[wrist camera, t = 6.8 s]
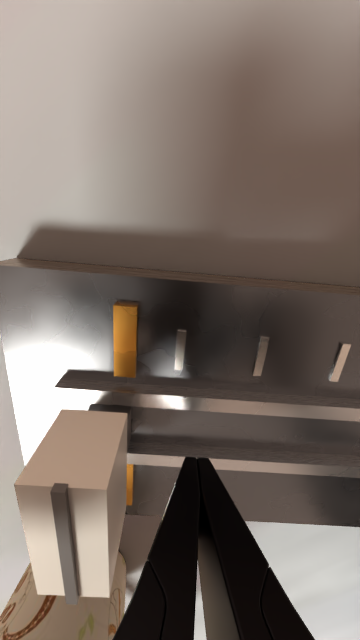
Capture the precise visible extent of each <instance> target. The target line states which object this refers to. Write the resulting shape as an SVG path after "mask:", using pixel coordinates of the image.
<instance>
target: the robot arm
mask: <svg viewBox="0 0 360 640" xmlns="http://www.w3.org/2000/svg"><path fill="white" fill-rule="evenodd" d="M197 560H198V565H199V574H200V583H201V592H202V601H203V610H204V619H205V628H206V637H207V640H315V639H314V637H313V636H312V634H311V633H310V631H309V630H308V628H307V627H306V625H305V624H304V622H303V621H302V619H301V618H300V616H299V614H298V613H297V611H296V610H295V608H294V607H293V605H292V603H291V602H290V600H289V598H288V597H287V595H286V593H285V591H284V590H283V588H282V586H281V585H280V583H279V581H278V579H277V578H276V576H275V574H274V572H273V571H272V569H271V568H270V567H269V564H268V562H267V560H266V558H265V557H264V555H263V553H262V551H261V550H260V548H259V546H258V544H257V542H256V541H255V539H254V537H253V535H252V534H251V532H250V530H249V528H248V527H247V525H246V523H245V521H244V519H243V518H242V516H241V514H240V512H239V511H238V509H237V507H236V505H235V503H234V502H233V500H232V498H231V496H230V495H229V493H228V491H227V489H226V488H225V486H224V484H223V482H222V480H221V479H220V477H219V475H218V473H217V472H216V470H215V468H214V466H213V465H212V463H211V461H210V459H209V458H203V457H198V458H196V457H185V459H184V461H183V464H182V467H181V469H180V472H179V475H178V477H177V480H176V483H175V485H174V488H173V491H172V493H171V496H170V499H169V501H168V504H167V507H166V510H165V512H164V515H163V518H162V520H161V523H160V526H159V528H158V531H157V534H156V536H155V539H154V542H153V544H152V547H151V550H150V552H149V555H148V558H147V561H146V563H145V565H144V568H143V571H142V574H141V576H140V579H139V581H138V584H137V586H136V589H135V591H134V594H133V596H132V599H131V601H130V603H129V605H128V607H127V610H126V612H125V614H124V616H123V618H122V620H121V623H120V625H119V627H118V629H117V631H116V633H115V635H114V637H113V639H112V640H194V621H195V601H196V580H197ZM268 567H269V568H268Z"/></svg>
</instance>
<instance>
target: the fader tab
mask: <svg viewBox="0 0 360 640" xmlns="http://www.w3.org/2000/svg"><path fill="white" fill-rule="evenodd" d="M131 410H132V406H120V405H105V404H91V405H90V407H89V409H88V411H86V410H71V409H61V411H60V412H59V414H58V416H57V417H56V419H55V420H54V422H53V423H52V425H51V427H50V428H49V430H48V431H47V433H46V435H45V436H44V438H43V439H42V441H41V443H40V444H39V446H38V447H37V449H36V450H35V452H34V454H33V455H32V457H31V458H30V460H29V462H28V463H27V465H26V466H25V468H24V470H23V471H22V473H21V474H20V476H19V478H18V479H17V481H16V482H15V484H14V486H15V491H16V496H17V500H18V505H19V510H20V515H21V519H22V524H23V529H24V533H25V538H26V543H27V547H28V552H29V557H30V561H31V566H32V571H33V576H34V580H35V585H36V590H37V594H38V595H61V596H65V599H66V604H72V605H77V604H78V600H79V596H84V597H107V598H110V592H111V587H112V582H113V576H114V571H115V566H116V560H117V555H118V549H119V544H120V539H121V533H122V528H123V523H124V517H125V512H126V483H127V452H128V447H129V443H130V438H131Z"/></svg>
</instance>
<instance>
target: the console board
mask: <svg viewBox="0 0 360 640" xmlns="http://www.w3.org/2000/svg"><path fill="white" fill-rule="evenodd" d="M0 334H1V340H2V345H3V350H4V356H5V361H6V367H7V372H8V378H9V383H10V388H11V394H12V399H13V405H14V410H15V415H16V421H17V426H18V432H19V437H20V443H21V448H22V453H23V459H24V464H25V466H26V465H27V463H28V462H29V460H30V458H31V457H32V455H33V454H34V452H35V450H36V449H37V447H38V446H39V444H40V443H41V441H42V439H43V438H44V436H45V435H46V433H47V431H48V430H49V428H50V427H51V425H52V423H53V422H54V420H55V419H56V417H57V416H58V414H59V412H60V411H61V409H71V410H86V411H88V409H89V407H90V405H91V404H105V405H120V406H132V410H131V438H130V443H129V447H128V452H127V483H126V512H125V514H129V515H147V516H163V515H164V512H165V510H166V507H167V504H168V501H169V499H170V496H171V493H172V491H173V488H174V485H175V483H176V480H177V477H178V475H179V472H180V469H181V467H182V464H183V461H184V459H185V457H196V458H198V457H203V458H209V459H210V461H211V463H212V465H213V466H214V468H215V470H216V472H217V473H218V475H219V477H220V479H221V480H222V482H223V484H224V486H225V488H226V489H227V491H228V493H229V495H230V496H231V498H232V500H233V502H234V503H235V505H236V507H237V509H238V511H239V512H240V514H241V516H242V518H243V519H244V521H258V522H277V523H295V524H314V525H332V526H351V527H360V287H351V286H339V285H327V284H315V283H304V282H292V281H280V280H268V279H256V278H245V277H233V276H221V275H209V274H197V273H186V272H174V271H162V270H150V269H138V268H127V267H115V266H103V265H91V264H79V263H68V262H56V261H44V260H32V259H20V258H13V259H9V260H4V261H0Z"/></svg>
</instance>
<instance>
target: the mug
mask: <svg viewBox="0 0 360 640" xmlns="http://www.w3.org/2000/svg"><path fill="white" fill-rule="evenodd" d="M125 589H126V563H125V560H124V558H123V557H122V555H121V554H120V553H119V552H118V555H117V560H116V566H115V571H114V576H113V582H112V587H111V592H110V598H107V597H84V596H79V600H78V604H77V605H72V604H66V599H65V596H61V595H38V594H37V590H36V585H35V580H34V576H33V571H32V566H31V562H30V564H29V565H28V567H27V569H26V571H25V573H24V574H23V576H22V578H21V580H20V582H19V583H18V585H17V587H16V589H15V591H14V592H13V594H12V596H11V598H10V600H9V601H8V603H7V605H6V607H5V609H4V611H3V612H2V614H1V616H0V640H112V639H113V637H114V635H115V633H116V631H117V629H118V627H119V625H120V623H121V620H122V618H123V616H124V608H125Z"/></svg>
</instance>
